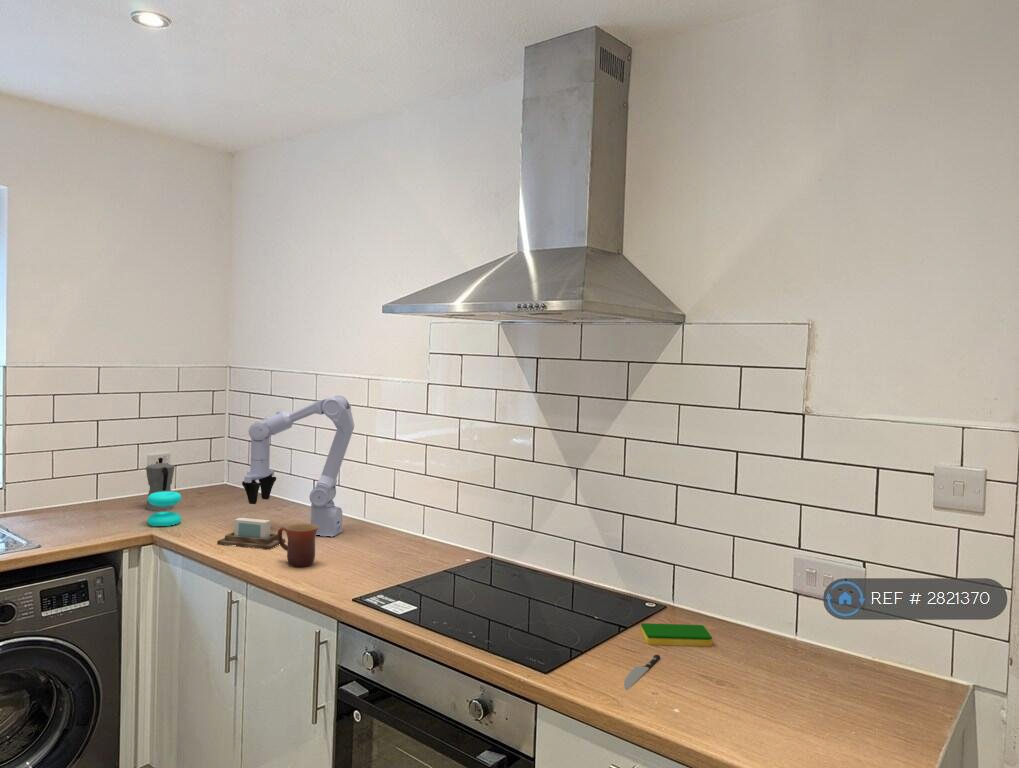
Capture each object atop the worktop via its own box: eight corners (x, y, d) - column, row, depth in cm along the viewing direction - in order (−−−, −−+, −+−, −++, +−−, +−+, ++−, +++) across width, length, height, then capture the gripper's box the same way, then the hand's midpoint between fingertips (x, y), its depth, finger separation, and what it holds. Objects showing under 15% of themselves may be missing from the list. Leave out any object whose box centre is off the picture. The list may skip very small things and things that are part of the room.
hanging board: (285, 542, 226) (285, 533, 226) (269, 549, 217) (269, 541, 217) (234, 537, 230) (234, 528, 230) (217, 544, 221) (217, 535, 221)
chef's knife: (609, 692, 137) (624, 695, 135) (609, 685, 136) (624, 689, 135) (647, 656, 153) (661, 659, 151) (647, 651, 153) (661, 653, 151)
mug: (323, 562, 207) (324, 525, 207) (304, 570, 199) (305, 532, 199) (287, 556, 211) (288, 520, 211) (267, 564, 203) (268, 527, 203)
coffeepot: (141, 506, 266) (142, 455, 265) (169, 503, 272) (170, 454, 271) (150, 514, 254) (151, 462, 253) (180, 511, 260) (181, 460, 259)
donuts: (163, 489, 248) (188, 492, 245) (163, 519, 248) (187, 522, 245) (140, 494, 239) (165, 497, 235) (139, 525, 239) (165, 529, 236)
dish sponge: (640, 633, 165) (641, 622, 165) (702, 635, 165) (703, 624, 165) (647, 646, 158) (647, 635, 158) (711, 648, 158) (712, 637, 158)
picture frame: (269, 540, 224) (270, 520, 224) (264, 542, 221) (264, 522, 221) (239, 537, 226) (240, 517, 226) (234, 539, 223) (234, 519, 223)
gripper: (260, 455, 245) (259, 496, 246) (235, 461, 231) (234, 504, 232) (280, 456, 244) (279, 497, 244) (256, 463, 230) (255, 506, 230)
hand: (259, 501), depth 238 cm, fingers open, 7 cm apart
